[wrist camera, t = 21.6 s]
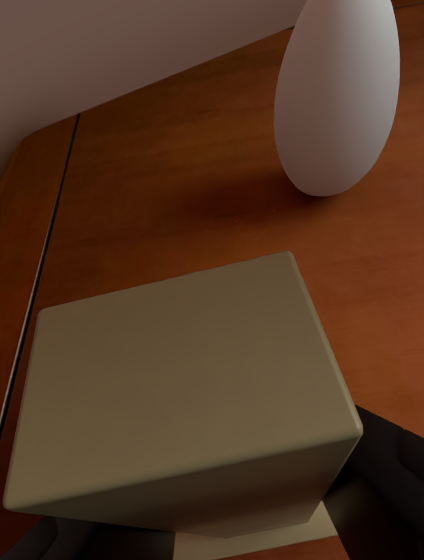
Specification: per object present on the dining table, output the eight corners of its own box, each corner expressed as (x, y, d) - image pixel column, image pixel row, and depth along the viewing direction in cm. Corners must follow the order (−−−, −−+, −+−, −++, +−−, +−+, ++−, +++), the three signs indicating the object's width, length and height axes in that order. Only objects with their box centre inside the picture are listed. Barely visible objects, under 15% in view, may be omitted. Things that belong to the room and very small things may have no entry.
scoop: (373, 528, 12) (729, 447, 2) (172, 567, 12) (-290, 649, 3) (292, 304, 18) (292, 11, 8) (157, 336, 18) (1, 91, 8)
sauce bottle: (385, 209, 28) (515, -138, 12) (287, 229, 28) (295, -79, 13) (352, 146, 32) (418, -172, 17) (266, 165, 32) (254, -125, 17)
